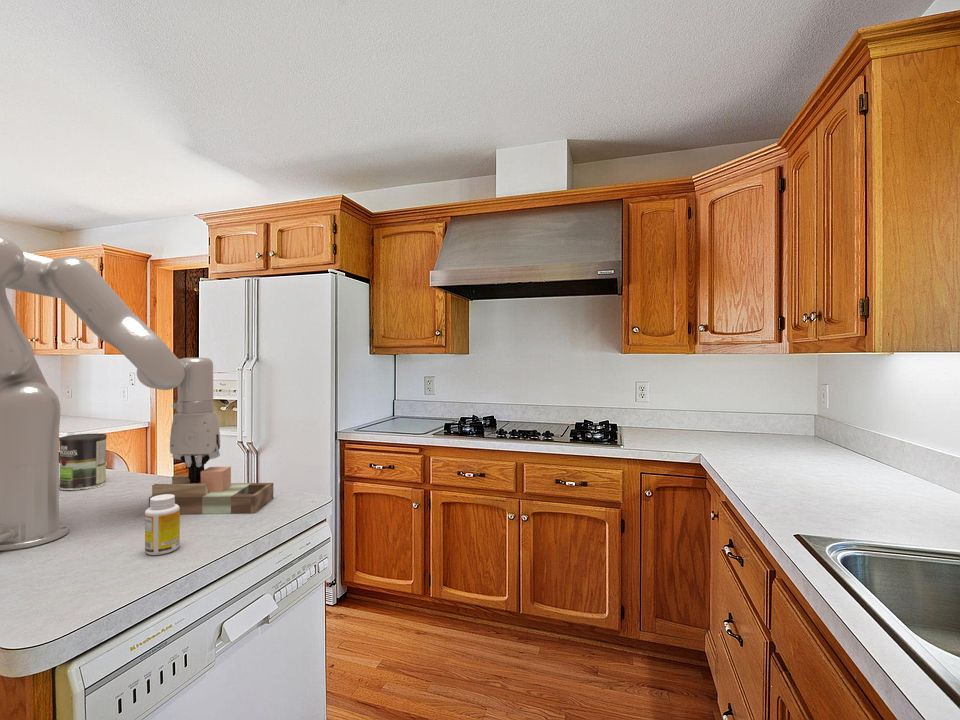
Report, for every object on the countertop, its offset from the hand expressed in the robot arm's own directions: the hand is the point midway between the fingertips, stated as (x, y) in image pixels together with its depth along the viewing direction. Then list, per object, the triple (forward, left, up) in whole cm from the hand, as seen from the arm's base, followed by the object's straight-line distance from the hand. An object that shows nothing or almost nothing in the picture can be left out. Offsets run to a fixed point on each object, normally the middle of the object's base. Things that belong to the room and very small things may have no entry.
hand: (196, 481), depth 118 cm
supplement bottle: (-27, -7, -6) cm, 29 cm away
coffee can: (+20, +41, -6) cm, 45 cm away
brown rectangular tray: (0, -4, -6) cm, 7 cm away
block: (0, -5, -2) cm, 5 cm away
